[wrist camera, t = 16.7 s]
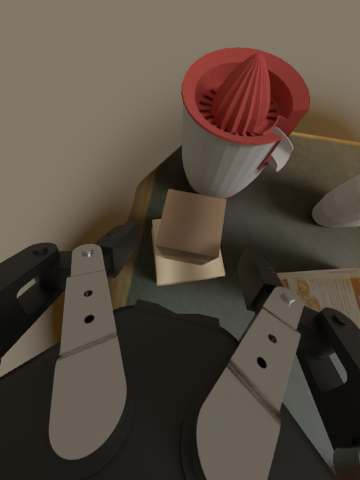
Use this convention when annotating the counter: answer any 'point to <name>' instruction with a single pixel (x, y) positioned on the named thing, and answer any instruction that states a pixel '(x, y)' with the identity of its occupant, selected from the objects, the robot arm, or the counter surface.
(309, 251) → the counter surface
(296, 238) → the counter surface
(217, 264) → the block top
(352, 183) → the soap bottle
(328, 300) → the coffeecake box
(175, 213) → the walnut post
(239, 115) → the citrus juicer
